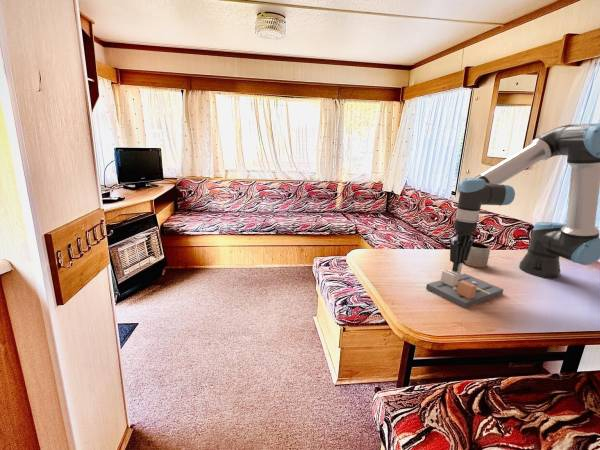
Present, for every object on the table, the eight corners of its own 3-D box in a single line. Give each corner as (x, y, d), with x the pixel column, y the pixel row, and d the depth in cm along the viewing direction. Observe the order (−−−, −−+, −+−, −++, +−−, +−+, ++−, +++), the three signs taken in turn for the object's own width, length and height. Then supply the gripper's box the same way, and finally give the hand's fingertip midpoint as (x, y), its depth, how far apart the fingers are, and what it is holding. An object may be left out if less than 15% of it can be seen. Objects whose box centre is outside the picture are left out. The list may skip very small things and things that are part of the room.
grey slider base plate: (463, 277, 135) (464, 272, 134) (502, 294, 122) (504, 287, 121) (426, 288, 123) (427, 282, 122) (464, 308, 110) (466, 301, 109)
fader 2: (461, 291, 117) (463, 279, 116) (474, 297, 113) (476, 285, 112) (456, 292, 116) (458, 281, 115) (469, 299, 112) (471, 287, 110)
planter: (490, 269, 146) (494, 249, 143) (464, 266, 148) (468, 247, 145) (482, 261, 156) (486, 242, 153) (458, 258, 158) (461, 240, 155)
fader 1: (445, 280, 126) (447, 269, 125) (456, 285, 122) (459, 274, 121) (440, 281, 125) (442, 270, 124) (452, 286, 121) (454, 275, 120)
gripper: (467, 216, 125) (456, 271, 131) (446, 219, 118) (436, 277, 125) (486, 221, 119) (474, 279, 125) (465, 224, 112) (453, 285, 118)
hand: (455, 278), depth 125 cm, fingers closed
